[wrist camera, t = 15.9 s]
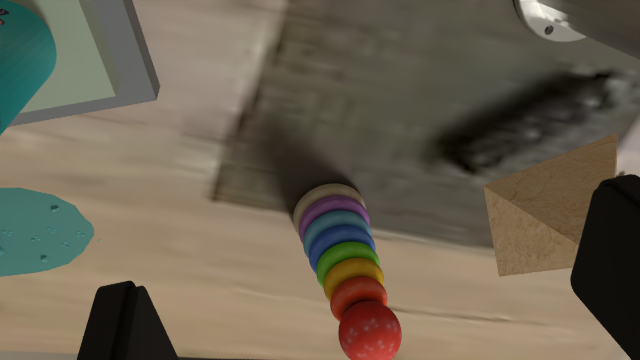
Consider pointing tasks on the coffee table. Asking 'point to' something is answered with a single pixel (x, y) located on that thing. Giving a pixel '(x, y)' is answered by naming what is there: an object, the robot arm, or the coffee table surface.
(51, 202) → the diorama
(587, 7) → the robot arm
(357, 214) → the stacking toy
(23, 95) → the beverage can
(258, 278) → the coffee table surface
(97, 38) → the stepped block
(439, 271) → the coffee table surface
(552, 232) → the model pyramid
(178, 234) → the coffee table surface
